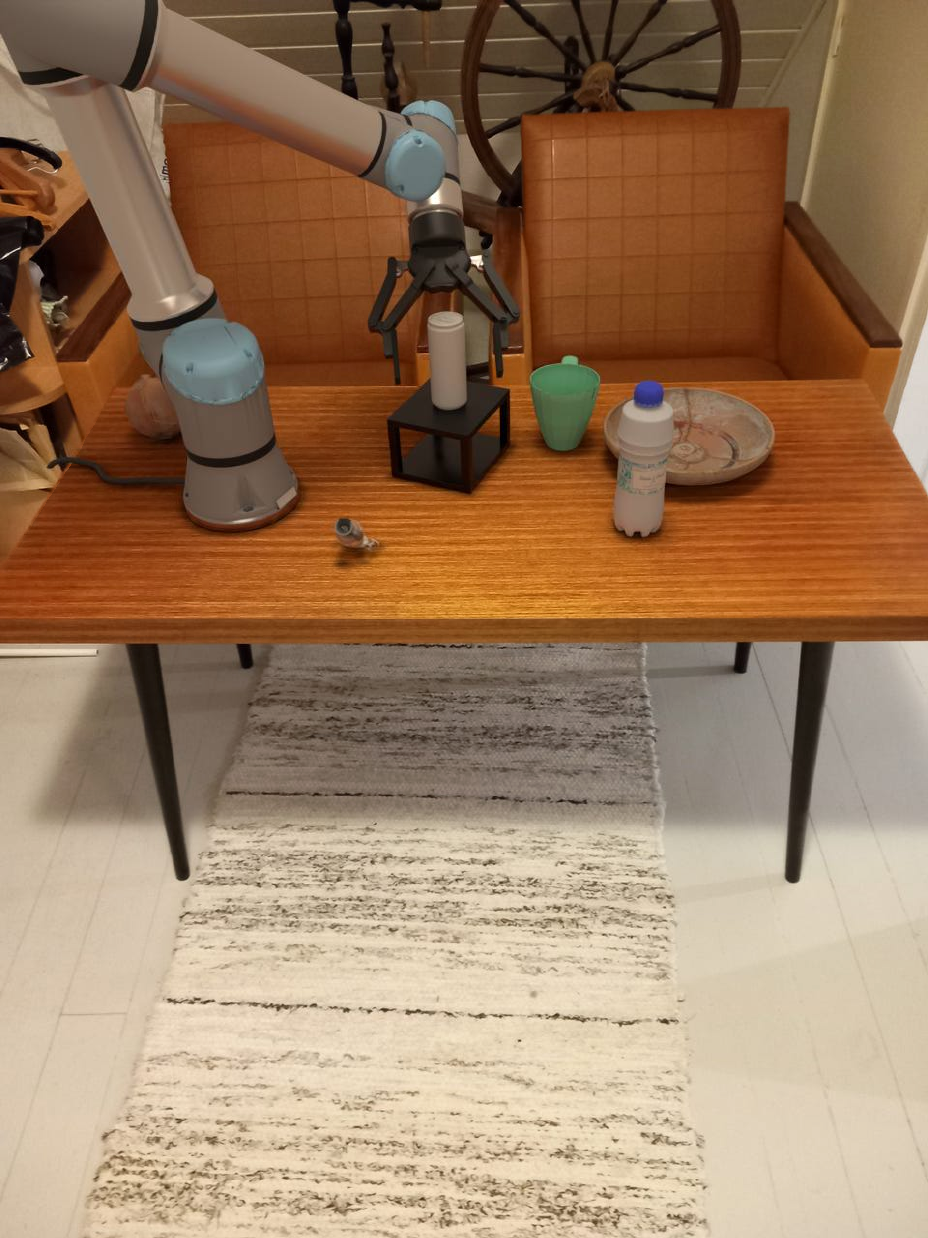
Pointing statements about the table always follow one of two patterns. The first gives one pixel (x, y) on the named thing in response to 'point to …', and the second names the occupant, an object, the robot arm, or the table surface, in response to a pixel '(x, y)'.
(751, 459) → the ceramic bowl
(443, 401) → the beverage can
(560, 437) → the mug
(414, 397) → the rack
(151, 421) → the onion
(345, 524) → the seashell
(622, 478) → the bottle
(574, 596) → the table surface
